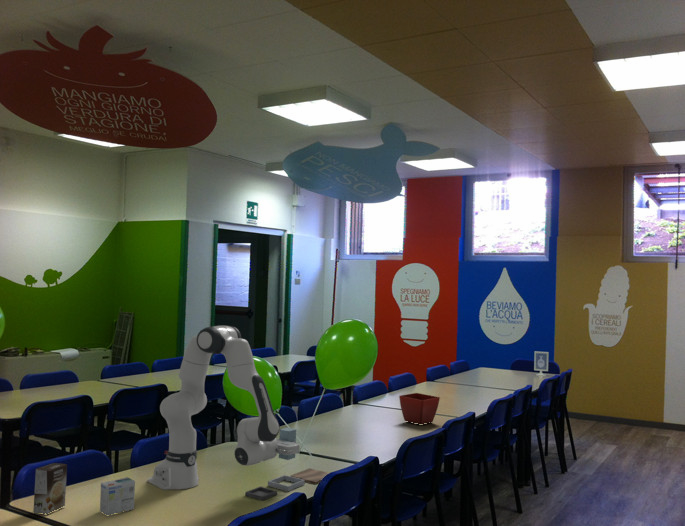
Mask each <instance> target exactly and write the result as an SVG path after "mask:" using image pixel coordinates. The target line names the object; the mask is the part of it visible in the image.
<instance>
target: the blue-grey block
mask: <svg viewBox="0 0 685 526" xmlns="http://www.w3.org/2000/svg"><path fill="white" fill-rule="evenodd" d="M278 439H279V440H284V441H288V442H291V441H295V442H296V443H297V429H296V428H290V427H283V428H281V429H280V428H279V438H278ZM295 458H296V454H292V455H283V454H279V453H278V459H282V460H286V461H290V460H292V459H295Z"/></svg>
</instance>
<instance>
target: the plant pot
mask: <svg viewBox="0 0 685 526" xmlns="http://www.w3.org/2000/svg"><path fill="white" fill-rule="evenodd" d="M398 398H399V406H400V410H401V413H402V417H403V420H404V422H405V421H408V422H413V423H418V424H424V423H429V422H432V423H433V422H434V420H435V417H436V414H437V410H438V407H439V403H440V399H441V397H440V396H435V395H430V394H424V393H419V392H414V393H408V394H407V393H406V394H402V395H399V397H398Z"/></svg>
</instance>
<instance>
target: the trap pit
mask: <svg viewBox="0 0 685 526" xmlns="http://www.w3.org/2000/svg"><path fill="white" fill-rule="evenodd" d="M244 495H245V497H248V498H252V499H255V500H258V501H262V502H263V501H265V500H268V499H270V498H272V497H275V496H277V495H278V491H277V490H274V489H271V488H268V487H264V486H257V487H254V488H253V489H249V490H247V491H245V494H244Z"/></svg>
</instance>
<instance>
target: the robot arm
mask: <svg viewBox="0 0 685 526" xmlns="http://www.w3.org/2000/svg"><path fill="white" fill-rule="evenodd" d="M220 354H221V355H223V356H224V357H225V360H226V368H227V370H226V371H227V375H228V378H229V381H230V382H231V384H233V385H234V386H235V387H237V388H238V389H241V390H245V391H247V392H249V393H250V394H251V395H252V397H253V399H254V402H255V405H256V409H257V412H258V416H254V417H247V418H242V419H240V421H239V422H238V424H237V426H236V430H235V431H236V438H237V439H236V440H237V444H236V447H235V449H234V458H235V460H236V462H237V463H238V464H240V465H241V466H245V467H247V466H253V465H256V464H259V463H261V462H266V461H269V460H272V459H274V458H276V457H277V455H279V454H283V455H292V454H295V455H297V454H299V453H300V447H301V446H300V443H297V441H296V442H295V441H291V442H288V441H284V440H279V438H277V436H278V435H279V434H280V424H279V423H280V422H279V421H278V418H277V417H276V414H275V411H274V409H273V405H272V401H271V398H270V396H269V392H268V389H267V386H266V383H265V381H264V379H263V377H262V376H260V374H259V373H258V371H257V369H256V365H255V361H254V360H255V359H254V355H253V352H252V349H251V346H250V344H249V341H248V340H247V339H245V338H242V333H241V332H240V331H239V329H238V328H237V327H235V326H233V325H220V324H219V325H213V326H207V327H206V326H205V327H204V328H202V329H201V330H200V331H199V332H198V333H197V334H195V335H193V336H191V338H190V340H189V342H188V344H187V345H186V348H185V351H184V354H183V358H182V361H181V364H180V368H179V372H178V378H179V379H180V380H181V384H180V386H181V387H180V390H179V392H175V393H172V394H169V395H168V396H167V397H165V398H163V400H162V401H161V403H160V405H159V411H160V414H161V416H162V417H163V418H164V420H165V421H166V424H167V428H168V435H169V439H168V440H169V441H168V450H165V451H164V455H166V456H165V458H164V459H163V460H162V461H161V462H160V463H158V464H156V466H155V467H154V469H153V475H152V476H150V477H148V478H147V480H146V482H147V483H149V484H151V485H153V486H155V487H157V488H160V489H161V490H164V491H167V490H168V491H169V490H185V489H187V490H188V489H191V488H194V487H196V486H198V485H199V480H200V477H199V476H198V461H197V458H198V452H197V451H198V450H197V430H196V428H194V427H193V424H192V416H194V415H197V414H199V413H200V412H202V411H203V410H204V409H205V408H206V406H207V403H208V398H207V397H208V396H207V395H206V393H205V382H206V377H207V373H208V369H209V365H210V363H211V362H210V361H211V357H212V355H220Z"/></svg>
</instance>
